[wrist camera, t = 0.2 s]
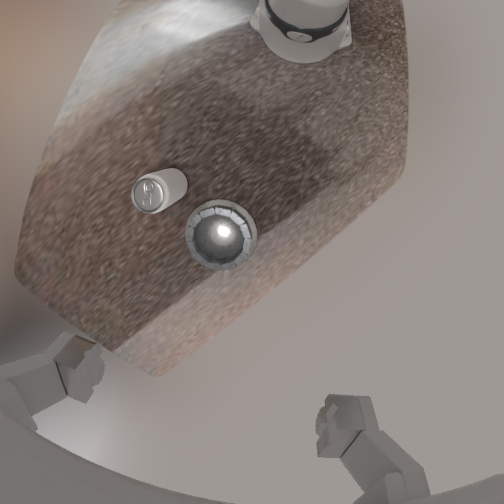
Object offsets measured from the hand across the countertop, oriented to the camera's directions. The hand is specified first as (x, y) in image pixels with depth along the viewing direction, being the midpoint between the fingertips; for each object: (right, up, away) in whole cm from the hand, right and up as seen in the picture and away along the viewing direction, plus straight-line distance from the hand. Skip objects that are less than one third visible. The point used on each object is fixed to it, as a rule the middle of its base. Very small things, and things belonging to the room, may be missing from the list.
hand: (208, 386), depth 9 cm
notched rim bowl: (-4, +8, +48) cm, 49 cm away
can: (-14, +17, +46) cm, 51 cm away
